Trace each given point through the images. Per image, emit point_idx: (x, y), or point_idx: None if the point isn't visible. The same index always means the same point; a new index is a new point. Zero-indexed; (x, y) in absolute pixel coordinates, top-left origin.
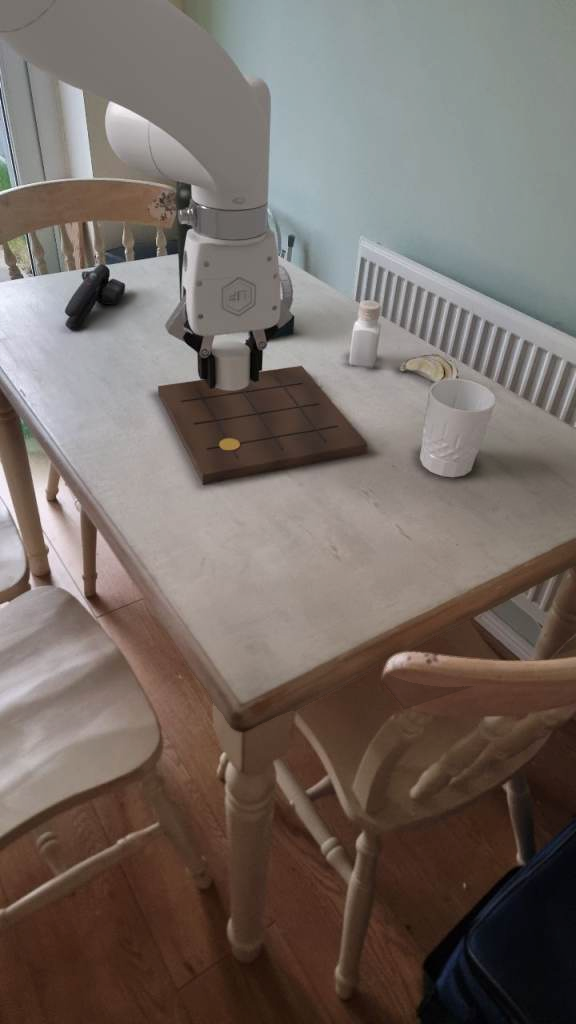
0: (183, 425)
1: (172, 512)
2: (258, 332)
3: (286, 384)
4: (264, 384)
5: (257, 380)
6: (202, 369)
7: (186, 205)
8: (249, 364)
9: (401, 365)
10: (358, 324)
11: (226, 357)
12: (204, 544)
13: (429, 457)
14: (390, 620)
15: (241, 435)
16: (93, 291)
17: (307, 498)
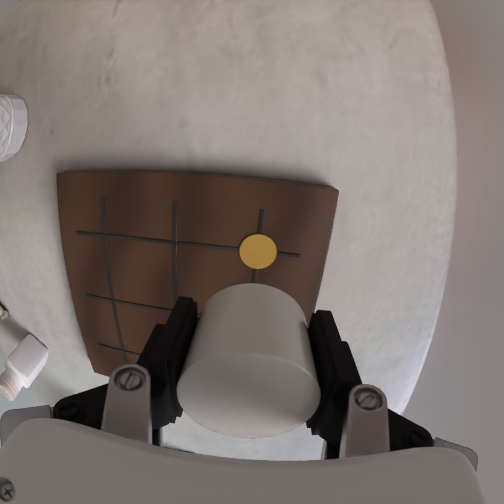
0: None
1: (397, 149)
2: (127, 427)
3: (118, 351)
4: None
5: (182, 296)
6: (351, 360)
7: None
8: (195, 339)
9: (5, 318)
10: (22, 381)
11: (288, 373)
12: (382, 67)
13: (15, 115)
14: None
15: (226, 268)
16: None
17: (190, 88)
